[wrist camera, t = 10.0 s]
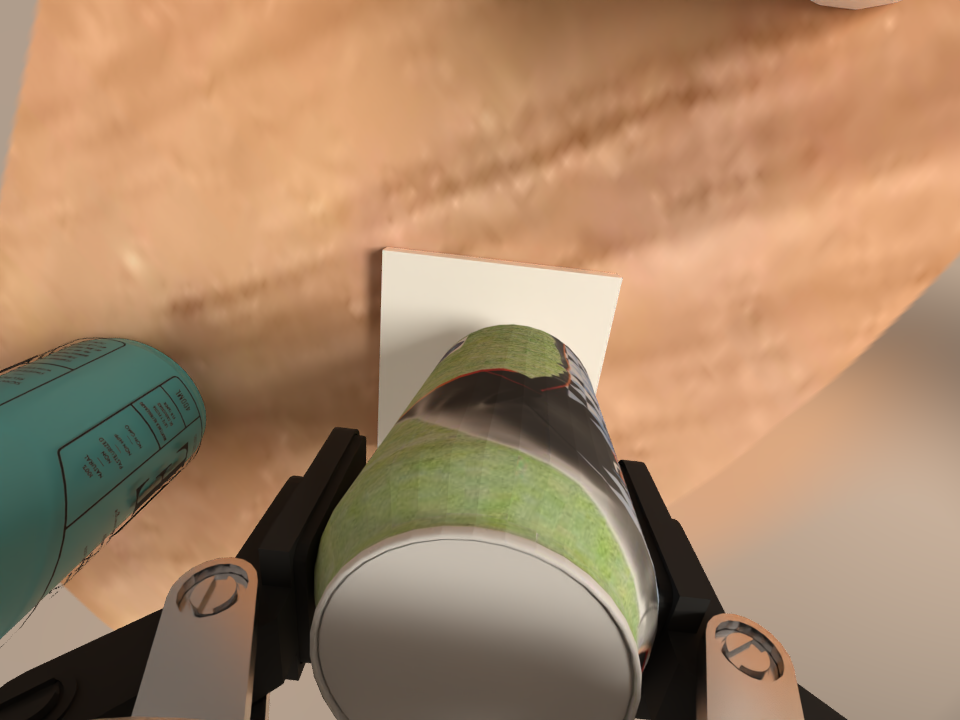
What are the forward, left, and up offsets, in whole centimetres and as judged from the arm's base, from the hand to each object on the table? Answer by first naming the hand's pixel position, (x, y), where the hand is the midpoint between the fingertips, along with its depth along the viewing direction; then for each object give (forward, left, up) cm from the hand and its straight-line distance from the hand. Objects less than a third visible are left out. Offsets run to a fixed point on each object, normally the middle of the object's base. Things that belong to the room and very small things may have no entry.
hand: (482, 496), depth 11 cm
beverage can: (0, 0, -7) cm, 7 cm away
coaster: (0, 0, -9) cm, 9 cm away
